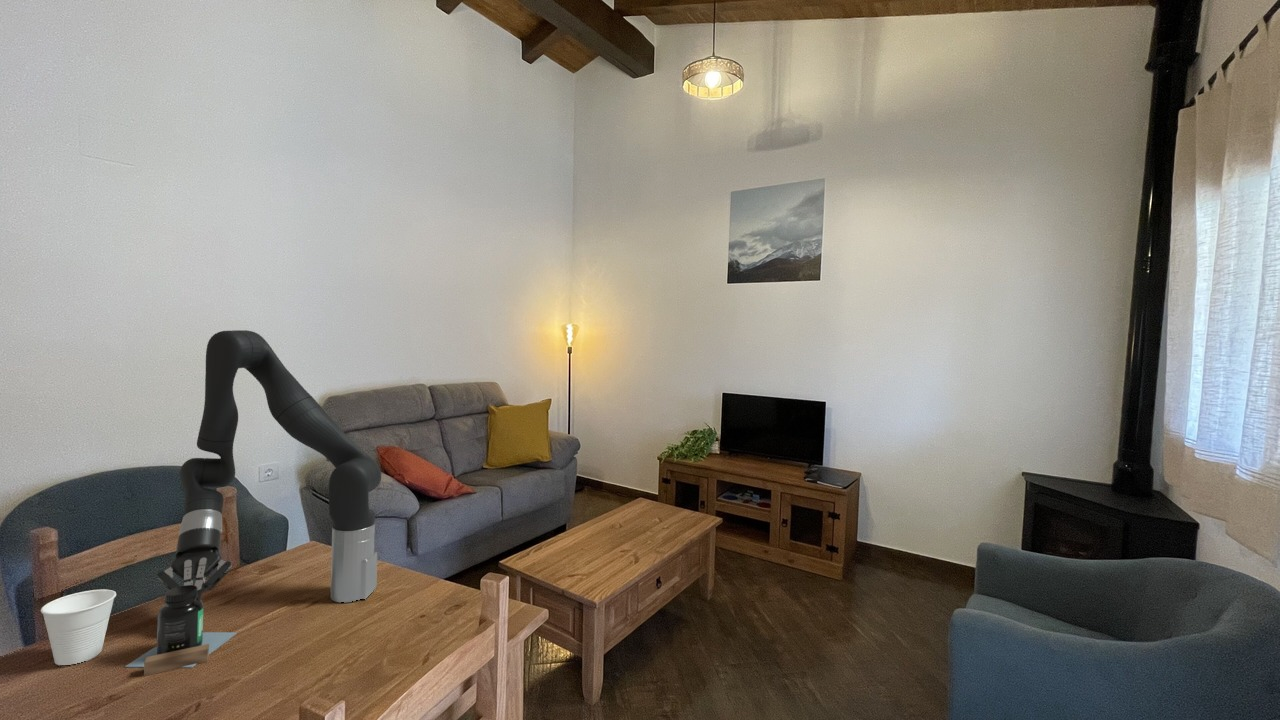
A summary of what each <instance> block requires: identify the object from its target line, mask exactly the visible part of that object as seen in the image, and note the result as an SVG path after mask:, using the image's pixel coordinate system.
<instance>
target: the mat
mask: <svg viewBox="0 0 1280 720" xmlns="http://www.w3.org/2000/svg"><path fill="white" fill-rule="evenodd" d="M237 634H238V632H231V631H230V632H228V631H227V632H225V631H224V632H223V631H222V632H218V631H217V632H214V631H213V632H211V631H210V632H206V631H205V632H204V631H203V642H202V645H206V644H209V655H210V654H212V653H213V652H214V651H216V650H217V649H219V648H220V647H221V646H223V645H224V644H225V643H226V642H227V641H229V640H231V639H232V638H233V637H234V636H235V635H237ZM154 655H157V645H155V646H154V647H152V648H151V649H150V650H148V651H146V652H145V653H143V654H142V655H140V656H138V657H137V658H136V659H134V660H132V661H131V662H130V663H128V664H127V665H125V666H124V668H144V662H145V660H146V658H147V657H149V656H154ZM196 665H197V664H192V665H187V666H183V667H182V668H184V669H186V668H187V669H188V668H190V669H192V668H193V667H194V666H196ZM182 668H181V669H182Z"/></svg>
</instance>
